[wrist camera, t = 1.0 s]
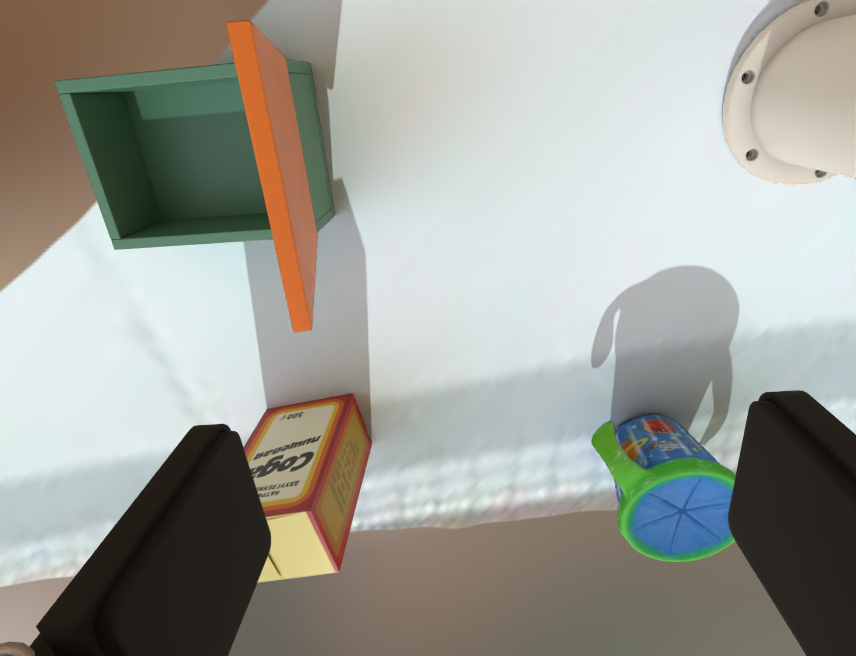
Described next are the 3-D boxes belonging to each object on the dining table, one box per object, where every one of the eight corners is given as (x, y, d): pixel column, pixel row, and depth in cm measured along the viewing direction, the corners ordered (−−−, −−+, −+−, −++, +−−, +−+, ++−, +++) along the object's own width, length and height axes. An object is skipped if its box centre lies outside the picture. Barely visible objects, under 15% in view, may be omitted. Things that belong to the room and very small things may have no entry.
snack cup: (738, 455, 51) (798, 535, 42) (652, 510, 55) (691, 594, 46) (638, 362, 47) (681, 429, 38) (554, 428, 51) (574, 503, 42)
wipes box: (162, 227, 44) (114, 250, 38) (116, 81, 40) (53, 80, 33) (335, 215, 43) (314, 236, 37) (310, 62, 38) (281, 57, 32)
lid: (293, 333, 22) (312, 330, 22) (225, 21, 17) (250, 19, 17) (306, 239, 36) (317, 237, 37) (272, 58, 32) (285, 57, 32)
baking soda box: (352, 393, 51) (309, 514, 36) (371, 444, 53) (338, 576, 39) (266, 409, 52) (191, 531, 38) (289, 458, 55) (227, 590, 40)
